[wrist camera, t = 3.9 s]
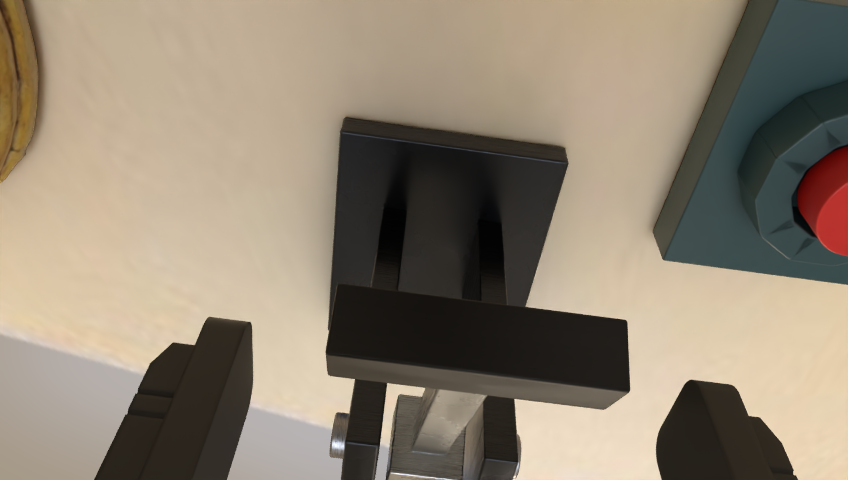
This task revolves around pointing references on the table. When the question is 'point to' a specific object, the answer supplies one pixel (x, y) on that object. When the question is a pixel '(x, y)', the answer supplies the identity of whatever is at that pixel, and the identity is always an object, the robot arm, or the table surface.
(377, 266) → the bracket
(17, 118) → the tankard
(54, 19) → the table surface
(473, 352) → the lever
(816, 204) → the button
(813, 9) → the button box
